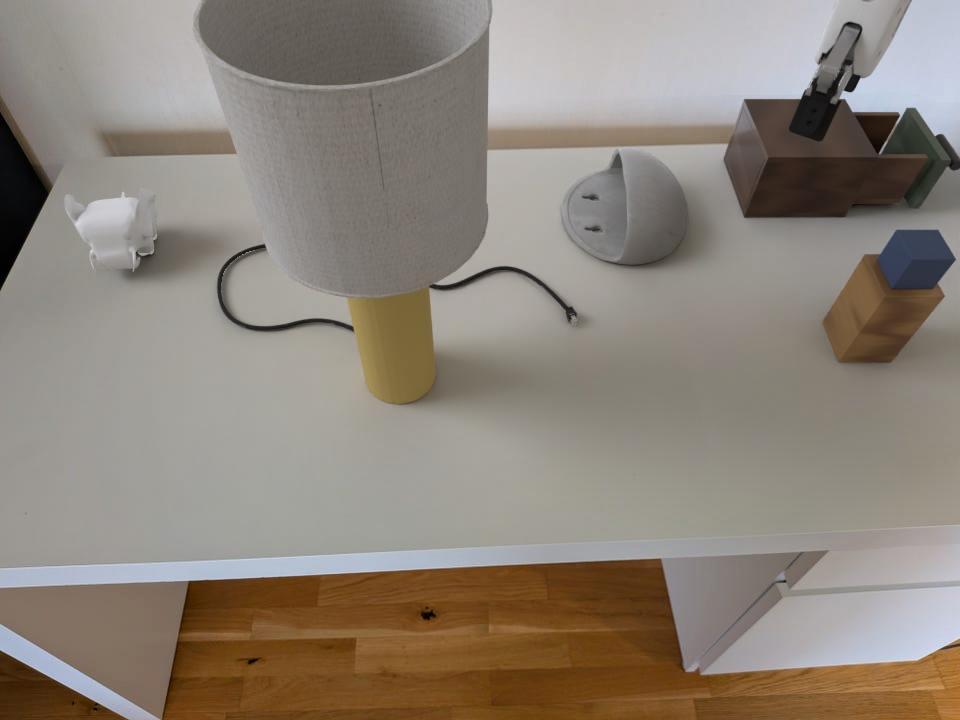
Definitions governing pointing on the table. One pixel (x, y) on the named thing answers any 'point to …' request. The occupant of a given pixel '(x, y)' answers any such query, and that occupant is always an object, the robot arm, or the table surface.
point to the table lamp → (361, 157)
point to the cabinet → (796, 162)
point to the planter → (627, 209)
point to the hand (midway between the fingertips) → (821, 110)
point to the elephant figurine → (116, 228)
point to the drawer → (903, 158)
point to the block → (915, 259)
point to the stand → (876, 315)
